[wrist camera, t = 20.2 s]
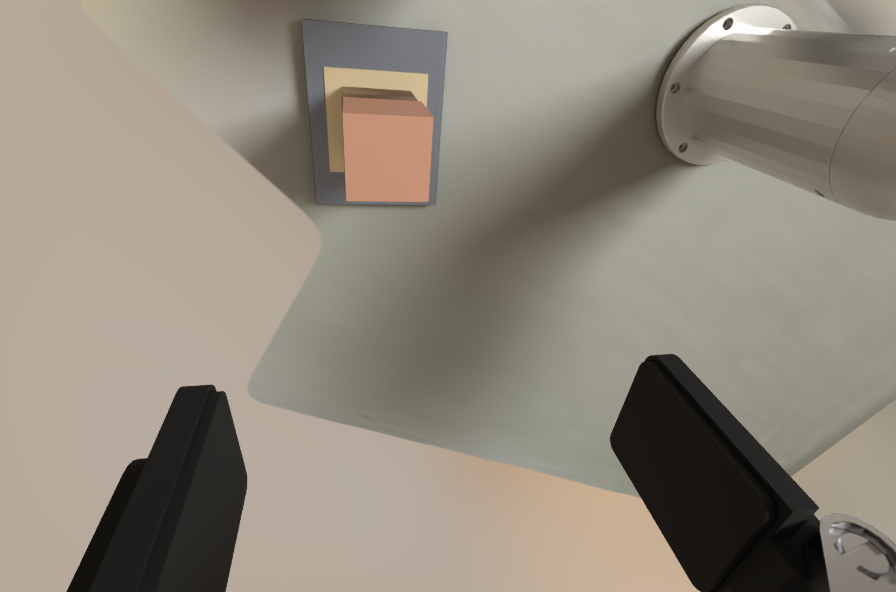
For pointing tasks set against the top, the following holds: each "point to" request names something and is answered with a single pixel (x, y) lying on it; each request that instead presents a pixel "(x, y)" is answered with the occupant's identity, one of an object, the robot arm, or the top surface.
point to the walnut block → (375, 96)
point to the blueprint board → (366, 66)
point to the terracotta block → (387, 150)
